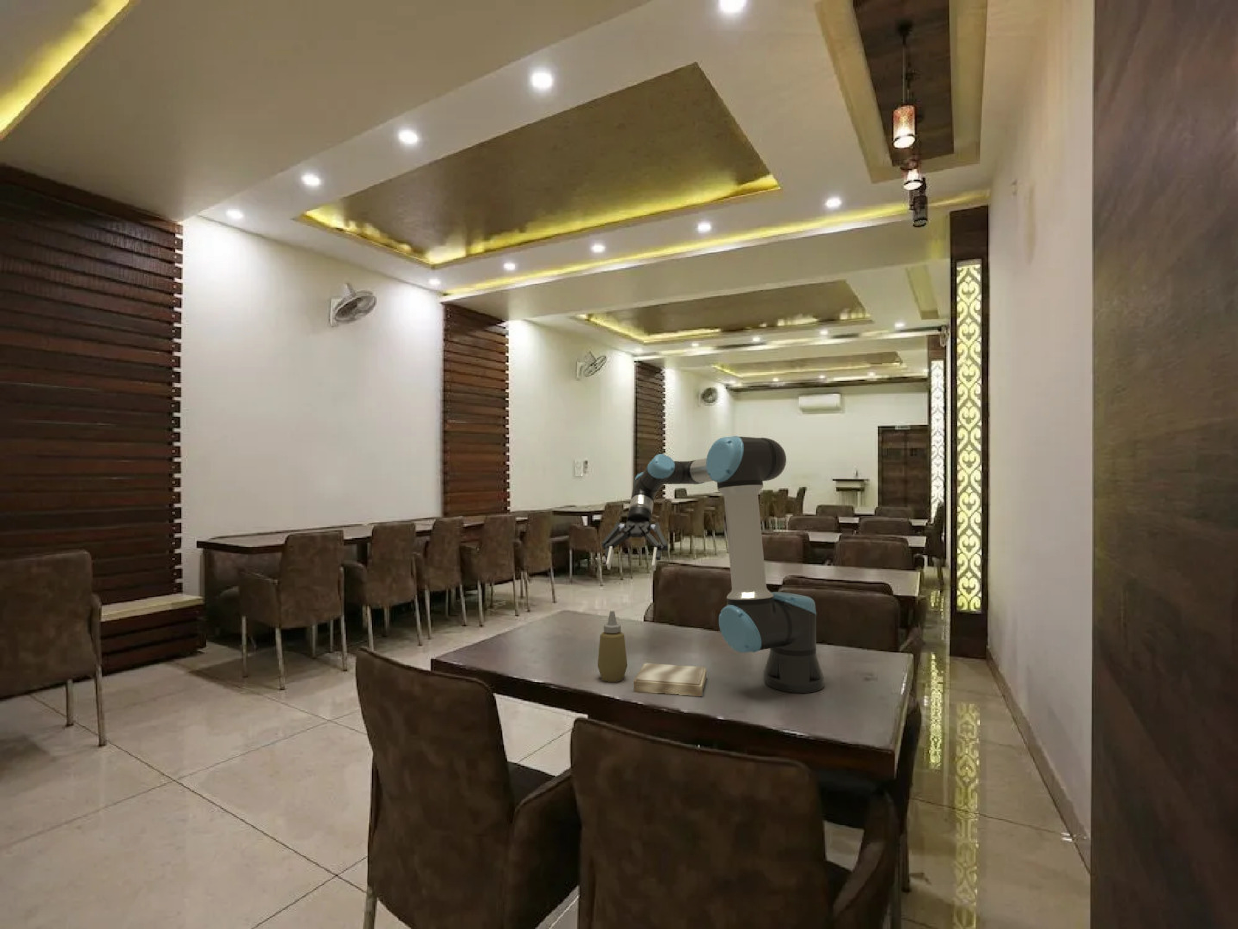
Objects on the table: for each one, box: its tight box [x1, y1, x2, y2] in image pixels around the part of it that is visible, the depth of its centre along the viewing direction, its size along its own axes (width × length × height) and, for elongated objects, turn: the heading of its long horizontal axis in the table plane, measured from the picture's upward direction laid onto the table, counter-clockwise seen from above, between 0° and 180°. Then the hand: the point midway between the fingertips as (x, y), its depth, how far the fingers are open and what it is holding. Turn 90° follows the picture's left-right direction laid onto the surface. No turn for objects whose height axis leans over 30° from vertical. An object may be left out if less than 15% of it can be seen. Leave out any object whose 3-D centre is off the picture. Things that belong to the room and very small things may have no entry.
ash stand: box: [633, 662, 707, 697], centre depth 153 cm, size 17×14×3 cm
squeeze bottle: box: [597, 610, 628, 683], centre depth 157 cm, size 8×8×18 cm
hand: (630, 567), depth 172 cm, fingers open, 13 cm apart
